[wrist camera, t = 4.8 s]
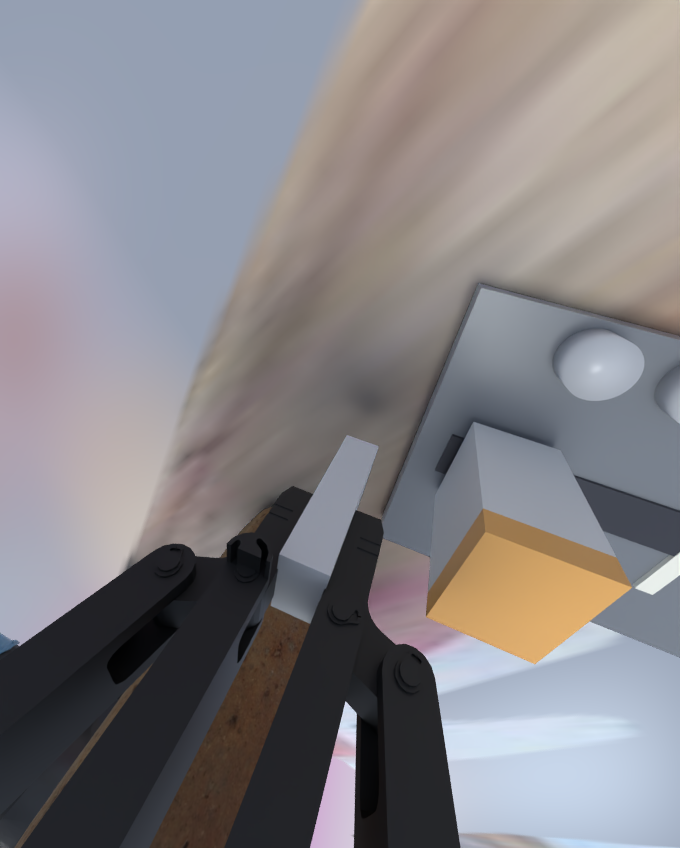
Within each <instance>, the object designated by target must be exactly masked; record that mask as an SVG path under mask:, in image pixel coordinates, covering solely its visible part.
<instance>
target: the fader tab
mask: <svg viewBox="0 0 680 848" xmlns="http://www.w3.org/2000/svg"><path fill="white" fill-rule="evenodd" d="M631 588H632V586H631V584H630V582H629V580H628V578H627V576H626V575H625V573H624V571H623V569H622V567H621V565H620V563H619V561H618V559H617V557H616V555H615V553H614V552H613V550H612V548H611V546H610V544H609V542H608V540H607V538H606V536H605V534H604V532H603V531H602V529H601V527H600V525H599V523H598V521H597V519H596V517H595V515H594V513H593V511H592V509H591V508H590V506H589V504H588V502H587V500H586V498H585V496H584V494H583V492H582V490H581V488H580V487H579V485H578V483H577V481H576V479H575V477H574V475H573V473H572V471H571V469H570V467H569V466H568V464H567V462H566V460H565V458H564V456H563V454H562V452H561V450H558V449H555V448H552V447H549V446H546V445H543V444H540V443H537V442H534V441H531V440H528V439H525V438H522V437H519V436H516V435H512V434H509V433H506V432H503V431H500V430H497V429H494V428H491V427H488V426H485V425H482V424H479V423H476V422H473V423H472V425H471V427H470V429H469V431H468V433H467V435H466V437H465V439H464V441H463V443H462V445H461V446H460V448H459V450H458V452H457V454H456V456H455V458H454V460H453V462H452V464H451V466H450V468H449V470H448V472H447V473H446V475H445V477H444V479H443V481H442V483H441V485H440V487H439V489H438V491H437V493H436V495H435V504H434V518H433V531H432V544H431V557H430V570H429V584H428V597H427V610H426V617H427V618H430V619H432V620H434V621H437V622H439V623H441V624H443V625H446V626H448V627H450V628H453V629H455V630H457V631H460V632H462V633H464V634H467V635H469V636H471V637H474V638H476V639H478V640H480V641H483V642H485V643H487V644H490V645H492V646H494V647H497V648H499V649H501V650H504V651H506V652H508V653H511V654H513V655H515V656H517V657H520V658H522V659H524V660H527V661H529V662H531V663H534V664H536V663H537V662H538V661H540V660H541V659H542V658H543V657H545V656H546V655H547V654H548V653H550V652H551V651H552V650H554V649H555V648H556V647H557V646H559V645H560V644H561V643H562V642H564V641H565V640H566V639H568V638H569V637H570V636H571V635H573V634H574V633H575V632H576V631H578V630H579V629H580V628H582V627H583V626H584V625H585V624H587V623H588V622H589V621H590V620H592V619H593V618H594V617H596V616H597V615H598V614H599V613H601V612H602V611H603V610H604V609H606V608H607V607H608V606H610V605H611V604H612V603H613V602H615V601H616V600H617V599H618V598H620V597H621V596H622V595H623V594H625V593H626V592H627V591H629V590H630V589H631Z"/></svg>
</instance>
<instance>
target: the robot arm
mask: <svg viewBox="0 0 680 848" xmlns="http://www.w3.org/2000/svg"><path fill="white" fill-rule="evenodd" d="M378 448H379V446H377V445H374V444H371V443H368V442H365V441H363V440H360V439H357V438H354V437H351V436H349V435H347V436H346V438H345V439H344V441H343V443H342V445H341V446H340V448H339V450H338V452H337V453H336V455H335V457H334V459H333V460H332V462H331V464H330V466H329V467H328V469H327V471H326V473H325V474H324V476H323V478H322V480H321V482H320V483H319V485H318V487H317V489H316V490H315V492H314V494H311V493H309V492H306V491H304V490H301V489H299V488H296V487H291V488H289V489H288V490H286V491H285V492H283V493H282V494H281V495H280V497H279V498H278V499H277V501H276V502H275V504H274V505H273V507H272V508H271V510H270V511H269V513H268V514H267V515H266V517H265V518H264V520H263V521H262V522H261V524H260V525H259V527H258V528H257V530H256V531H255V532H254V533H253V532H250V533H242V534H240V535H237V536H235V537H233V538H232V539H231V540H230V541H229V542H228V543H227V557H224V558H209V557H197V556H195V554H194V553H193V551H192V550H191V549H190V548H189V547H187V546H185V545H183V544H170V545H165V546H162V547H160V548H158V549H156V550H155V551H153V552H152V553H150V554H149V555H147V556H146V557H145V558H143V559H142V560H140V561H139V562H138V563H136V564H135V565H133V566H132V567H130V568H129V569H128V570H126V571H125V572H123V573H122V574H121V575H119V576H118V577H116V578H115V579H114V580H112V581H111V582H109V583H108V584H107V585H105V586H104V587H102V588H101V589H100V590H98V591H97V592H95V593H94V594H93V595H91V596H90V597H88V598H87V599H85V600H84V601H83V602H81V603H80V604H78V605H77V606H76V607H74V608H73V609H71V610H70V611H69V612H67V613H66V614H64V615H63V616H62V617H60V618H59V619H57V620H56V621H55V622H53V623H52V624H50V625H49V626H48V627H46V628H45V629H43V630H42V631H41V632H39V633H38V634H36V635H35V636H33V637H32V638H31V639H29V640H28V641H26V642H25V643H24V644H22V645H21V646H18V645H17V644H19V642H18V641H17V640H13V641H12V640H10V639H9V638H7V637H6V636H4V635H3V634H1V633H0V848H14V847H15V846H16V844H17V843H18V841H19V840H20V838H21V837H22V835H23V834H24V832H25V831H26V829H27V828H28V826H29V825H30V823H31V822H32V821H33V819H34V818H35V816H36V815H37V814H38V812H39V811H40V809H41V808H42V807H43V805H44V804H45V802H46V801H47V800H48V798H49V797H50V795H51V794H52V792H53V791H54V789H55V788H56V787H57V785H58V784H59V782H60V781H61V780H62V778H63V777H64V775H65V774H66V773H67V771H68V770H69V768H70V767H71V766H72V764H73V763H74V761H75V760H76V759H77V757H78V756H79V754H80V753H81V752H82V750H83V749H84V748H85V746H86V745H87V743H88V742H89V741H90V739H91V738H92V737H93V735H94V734H95V732H96V731H97V730H98V728H99V727H100V726H101V724H102V723H103V721H104V720H105V719H106V717H107V716H108V714H109V713H110V711H111V710H112V709H113V707H114V706H115V704H116V703H117V702H118V700H119V699H120V697H121V696H122V694H123V693H124V692H125V691H126V690H127V689H128V688H129V687H130V686H131V685H132V684H133V683H134V682H135V681H136V680H137V679H138V678H139V677H140V676H141V675H142V674H143V673H144V672H145V671H146V670H147V669H148V668H149V667H150V666H151V665H152V666H151V667H150V669H149V670H148V671H147V673H146V674H145V676H144V677H143V678H142V680H141V681H140V682H139V684H138V685H137V687H136V688H135V689H134V691H133V692H132V694H131V695H130V696H129V698H128V699H127V701H126V702H125V703H124V705H123V706H122V708H121V709H120V710H119V712H118V713H117V714H116V716H115V717H114V719H113V720H112V721H111V723H110V724H109V726H108V727H107V728H106V730H105V731H104V733H103V734H102V735H101V737H100V738H99V740H98V741H97V742H96V744H95V745H94V746H93V748H92V749H91V751H90V752H89V753H88V755H87V756H86V758H85V759H84V760H83V762H82V763H81V765H80V766H79V767H78V769H77V770H76V771H75V773H74V774H73V776H72V777H71V778H70V780H69V781H68V783H67V784H66V785H65V787H64V788H63V790H62V791H61V792H60V794H59V795H58V797H57V798H56V799H55V801H54V802H53V803H52V805H51V806H50V808H49V809H48V810H47V812H46V813H45V815H44V816H43V817H42V819H41V820H40V822H39V823H38V824H37V826H36V827H35V829H34V830H33V831H32V833H31V834H30V835H29V837H28V838H27V840H26V841H25V842H24V844H23V845H22V847H21V848H149V847H150V845H151V843H152V841H153V839H154V837H155V835H156V833H157V831H158V829H159V827H160V825H161V823H162V821H163V819H164V817H165V815H166V813H167V811H168V809H169V807H170V805H171V803H172V801H173V799H174V797H175V795H176V793H177V792H178V790H179V788H180V786H181V784H182V782H183V780H184V778H185V776H186V774H187V772H188V770H189V768H190V766H191V764H192V762H193V760H194V758H195V756H196V754H197V752H198V750H199V748H200V746H201V744H202V742H203V740H204V738H205V736H206V734H207V732H208V730H209V728H210V726H211V724H212V722H213V720H214V718H215V716H216V714H217V712H218V710H219V708H220V706H221V704H222V703H223V701H224V699H225V697H226V695H227V693H228V691H229V689H230V687H231V685H232V683H233V681H234V679H235V677H236V675H237V673H238V671H239V669H240V667H241V665H242V663H243V661H244V659H245V657H246V655H247V653H248V651H249V649H250V647H251V645H252V643H253V641H254V639H255V637H256V635H257V633H258V631H259V629H260V627H261V625H262V622H263V619H264V614H265V612H266V610H267V608H268V606H269V604H270V602H271V606H272V607H275V608H277V609H279V610H281V611H283V612H285V613H288V614H290V615H292V616H294V617H296V618H298V619H301V620H303V621H305V622H307V623H309V624H310V626H309V628H308V631H307V634H306V636H305V639H304V642H303V644H302V647H301V649H300V652H299V655H298V657H297V660H296V662H295V665H294V668H293V670H292V673H291V675H290V678H289V681H288V683H287V686H286V688H285V691H284V694H283V696H282V699H281V701H280V704H279V707H278V709H277V712H276V714H275V717H274V720H273V722H272V725H271V727H270V730H269V733H268V735H267V738H266V740H265V743H264V746H263V748H262V751H261V753H260V756H259V759H258V761H257V764H256V766H255V769H254V772H253V774H252V777H251V779H250V782H249V785H248V787H247V790H246V792H245V795H244V798H243V800H242V803H241V805H240V808H239V811H238V813H237V816H236V818H235V821H234V824H233V826H232V829H231V831H230V834H229V837H228V839H227V842H226V844H225V847H224V848H310V844H311V841H312V837H313V832H314V829H315V824H316V820H317V816H318V812H319V807H320V804H321V800H322V796H323V791H324V787H325V783H326V779H327V774H328V771H329V766H330V762H331V758H332V754H333V750H334V746H335V742H336V738H337V734H338V729H339V725H340V721H341V717H342V713H343V709H344V705H345V701H346V702H347V703H348V704H349V705H350V706H351V707H352V708H353V710H354V711H355V712H356V713H357V729H356V777H355V824H354V825H355V826H354V848H460V842H459V835H458V829H457V822H456V815H455V809H454V802H453V796H452V789H451V782H450V775H449V769H448V762H447V755H446V748H445V742H444V735H443V728H442V722H441V715H440V708H439V702H438V695H437V688H436V682H435V677H434V674H433V670H432V667H431V665H430V664H429V662H428V661H427V659H426V657H425V656H424V655H423V654H422V653H421V652H420V651H418V650H417V649H416V648H414V647H412V646H409V645H407V644H398V645H395V644H394V643H393V642H392V641H391V640H390V639H389V638H388V637H387V636H385V635H384V634H383V633H382V632H381V631H380V630H379V629H378V628H377V626H376V625H375V624H374V622H373V620H372V619H371V616H370V613H369V610H368V596H369V592H370V588H371V584H372V580H373V576H374V572H375V567H376V563H377V559H378V555H379V551H380V547H381V543H382V539H383V535H384V531H383V526H382V522H381V520H380V519H377V518H375V517H372V516H370V515H367V514H364V513H362V512H359V511H357V508H358V505H359V503H360V500H361V497H362V495H363V492H364V489H365V486H366V483H367V480H368V477H369V474H370V471H371V468H372V465H373V463H374V460H375V457H376V454H377V451H378ZM271 600H272V601H271Z"/></svg>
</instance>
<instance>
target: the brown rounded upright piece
mask: <svg viewBox="0 0 680 848" xmlns="http://www.w3.org/2000/svg"><path fill="white" fill-rule="evenodd" d="M271 508H272V507H269V508H267V509H264V510H263V511H261V512H260V513H259V514H258V515H257V516H256V517H255V518H254V519H253V520H252V521H251V522H250V523H248V524H247V525H246V526H245V527H244V528H243V529H242V531H241V532H240V533H239V534H238V535H240V534H242V533H250V532H253V533H254V532H255V531H256V530H257V528H258V527H259V525H260V524H261V522H262V521H263V520H264V518H265V517H266V515H267V514H268V513H269V511H270V510H271ZM224 557H227V549H226V550H225V552H224V553H223V554H222V556H221V557H220V558H224ZM271 601H272V600H271ZM309 626H310V624H309V623H307V622H305V621H303V620H301V619H298V618H296V617H294V616H292V615H290V614H288V613H285V612H283V611H281V610H279V609H277V608H275V607H272V606H271V602H270V604H269V606H268V608H267V610H266V612H265V614H264V619H263V622H262V625H261V627H260V629H259V631H258V633H257V635H256V637H255V639H254V641H253V643H252V645H251V647H250V649H249V651H248V653H247V655H246V657H245V659H244V661H243V663H242V665H241V667H240V669H239V671H238V673H237V675H236V677H235V679H234V681H233V683H232V685H231V687H230V689H229V691H228V693H227V695H226V697H225V699H224V701H223V703H222V704H221V706H220V708H219V710H218V712H217V714H216V716H215V718H214V720H213V722H212V724H211V726H210V728H209V730H208V732H207V734H206V736H205V738H204V740H203V742H202V744H201V746H200V748H199V750H198V752H197V754H196V756H195V758H194V760H193V762H192V764H191V766H190V768H189V770H188V772H187V774H186V776H185V778H184V780H183V782H182V784H181V786H180V788H179V790H178V792H177V793H176V795H175V797H174V799H173V801H172V803H171V805H170V807H169V809H168V811H167V813H166V815H165V817H164V819H163V821H162V823H161V825H160V827H159V829H158V831H157V833H156V835H155V837H154V839H153V841H152V843H151V845H150V847H149V848H224V847H225V844H226V842H227V839H228V837H229V834H230V831H231V829H232V826H233V824H234V821H235V818H236V816H237V813H238V811H239V808H240V805H241V803H242V800H243V798H244V795H245V792H246V790H247V787H248V785H249V782H250V779H251V777H252V774H253V772H254V769H255V766H256V764H257V761H258V759H259V756H260V753H261V751H262V748H263V746H264V743H265V740H266V738H267V735H268V733H269V730H270V727H271V725H272V722H273V720H274V717H275V714H276V712H277V709H278V707H279V704H280V701H281V699H282V696H283V694H284V691H285V688H286V686H287V683H288V681H289V678H290V675H291V673H292V670H293V668H294V665H295V662H296V660H297V657H298V655H299V652H300V649H301V647H302V644H303V642H304V639H305V636H306V634H307V631H308V628H309ZM151 666H152V665H151ZM151 666H150V667H151ZM150 667H149V668H148V669H147V670H146V671H145V672H144V673H143V674H142V675H141V676H140V677H139V678H138V679H137V680H136V681H135V682H134V683H133V684H132V685H131V686H130V687H129V688H128V689H127V690H126V691H125V692H124V693H123V694H122V696H121V697H120V699H119V700H118V702H117V703H116V704H115V706H114V707H113V709H112V710H111V711H110V713H109V714H108V716H107V717H106V719H105V720H104V721H103V723H102V724H101V726H100V727H99V728H98V730H97V731H96V732H95V734H94V735H93V737H92V738H91V739H90V741H89V742H88V743H87V745H86V746H85V748H84V749H83V750H82V752H81V753H80V754H79V756H78V757H77V759H76V760H75V761H74V763H73V764H72V766H71V767H70V768H69V770H68V771H67V773H66V774H65V775H64V777H63V778H62V780H61V781H60V782H59V784H58V785H57V787H56V788H55V789H54V791H53V792H52V794H51V795H50V797H49V798H48V800H47V801H46V802H45V804H44V805H43V807H42V808H41V809H40V811H39V812H38V814H37V815H36V816H35V818H34V819H33V821H32V822H31V823H30V825H29V826H28V828H27V829H26V831H25V832H24V834H23V835H22V837H21V838H20V840H19V841H18V843H17V844H16V846H15V847H14V848H21V847H22V845H23V844H24V842H25V841H26V840H27V838H28V837H29V835H30V834H31V833H32V831H33V830H34V829H35V827H36V826H37V824H38V823H39V822H40V820H41V819H42V817H43V816H44V815H45V813H46V812H47V810H48V809H49V808H50V806H51V805H52V803H53V802H54V801H55V799H56V798H57V797H58V795H59V794H60V792H61V791H62V790H63V788H64V787H65V785H66V784H67V783H68V781H69V780H70V778H71V777H72V776H73V774H74V773H75V771H76V770H77V769H78V767H79V766H80V765H81V763H82V762H83V760H84V759H85V758H86V756H87V755H88V753H89V752H90V751H91V749H92V748H93V746H94V745H95V744H96V742H97V741H98V740H99V738H100V737H101V735H102V734H103V733H104V731H105V730H106V728H107V727H108V726H109V724H110V723H111V721H112V720H113V719H114V717H115V716H116V714H117V713H118V712H119V710H120V709H121V708H122V706H123V705H124V703H125V702H126V701H127V699H128V698H129V696H130V695H131V694H132V692H133V691H134V689H135V688H136V687H137V685H138V684H139V682H140V681H141V680H142V678H143V677H144V676H145V674H146V673H147V671H148V670H149V669H150Z"/></svg>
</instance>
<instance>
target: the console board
mask: <svg viewBox="0 0 680 848" xmlns="http://www.w3.org/2000/svg"><path fill="white" fill-rule="evenodd" d="M473 422H476V423H479V424H482V425H485V426H488V427H491V428H494V429H497V430H500V431H503V432H506V433H509V434H512V435H516V436H519V437H522V438H525V439H528V440H531V441H534V442H537V443H540V444H543V445H546V446H549V447H552V448H555V449H558V450H561V452H562V454H563V456H564V458H565V460H566V462H567V464H568V466H569V467H570V469H571V471H572V473H573V475H574V477H575V479H576V481H577V483H578V485H579V487H580V488H581V490H582V492H583V494H584V496H585V498H586V500H587V502H588V504H589V506H590V508H591V509H592V511H593V513H594V515H595V517H596V519H597V521H598V523H599V525H600V527H601V529H602V531H603V532H604V534H605V536H606V538H607V540H608V542H609V544H610V546H611V548H612V550H613V552H614V553H615V555H616V557H617V559H618V561H619V563H620V565H621V567H622V569H623V571H624V573H625V575H626V576H627V578H628V580H629V582H630V584H631V586H632V588H631V589H630V590H629V591H627V592H626V593H625V594H623V595H622V596H621V597H620V598H618V599H617V600H616V601H615V602H613V603H612V604H611V605H610V606H608V607H607V608H606V609H604V610H603V611H602V612H601V613H599V614H598V615H597V616H596V617H594V618H593V619H592V620H590V622H593V623H595V624H598V625H600V626H603V627H605V628H608V629H610V630H613V631H615V632H618V633H620V634H623V635H625V636H628V637H630V638H633V639H635V640H638V641H640V642H642V643H645V644H648V645H650V646H652V647H655V648H657V649H660V650H663V651H665V652H667V653H670V654H672V655H675V656H677V657H680V336H678V335H674V334H671V333H667V332H663V331H659V330H655V329H651V328H648V327H644V326H640V325H636V324H632V323H629V322H625V321H621V320H617V319H613V318H610V317H606V316H602V315H598V314H594V313H590V312H587V311H583V310H579V309H575V308H571V307H568V306H564V305H560V304H556V303H552V302H549V301H545V300H541V299H537V298H533V297H529V296H526V295H522V294H518V293H514V292H510V291H507V290H503V289H499V288H495V287H491V286H488V285H484V284H480V283H478V285H477V288H476V290H475V292H474V295H473V297H472V300H471V302H470V304H469V307H468V309H467V312H466V314H465V317H464V319H463V321H462V324H461V326H460V329H459V331H458V334H457V336H456V338H455V341H454V343H453V346H452V348H451V351H450V353H449V355H448V358H447V360H446V363H445V365H444V368H443V370H442V372H441V375H440V377H439V380H438V382H437V385H436V387H435V389H434V392H433V394H432V397H431V399H430V402H429V404H428V406H427V409H426V411H425V414H424V416H423V419H422V421H421V423H420V426H419V428H418V431H417V433H416V436H415V438H414V440H413V443H412V445H411V448H410V450H409V453H408V455H407V457H406V460H405V462H404V465H403V467H402V470H401V472H400V474H399V477H398V479H397V482H396V484H395V487H394V489H393V491H392V494H391V496H390V499H389V501H388V504H387V506H386V508H385V511H384V513H383V516H382V520H381V522H382V526H383V531H384V535H383V538H384V539H387V540H389V541H391V542H394V543H396V544H399V545H401V546H404V547H406V548H409V549H411V550H414V551H416V552H419V553H421V554H424V555H426V556H429V557H431V544H432V531H433V518H434V504H435V495H436V493H437V491H438V489H439V487H440V485H441V483H442V481H443V479H444V477H445V475H446V473H447V472H448V470H449V468H450V466H451V464H452V462H453V460H454V458H455V456H456V454H457V452H458V450H459V448H460V446H461V445H462V443H463V441H464V439H465V437H466V435H467V433H468V431H469V429H470V427H471V425H472V423H473Z"/></svg>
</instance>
